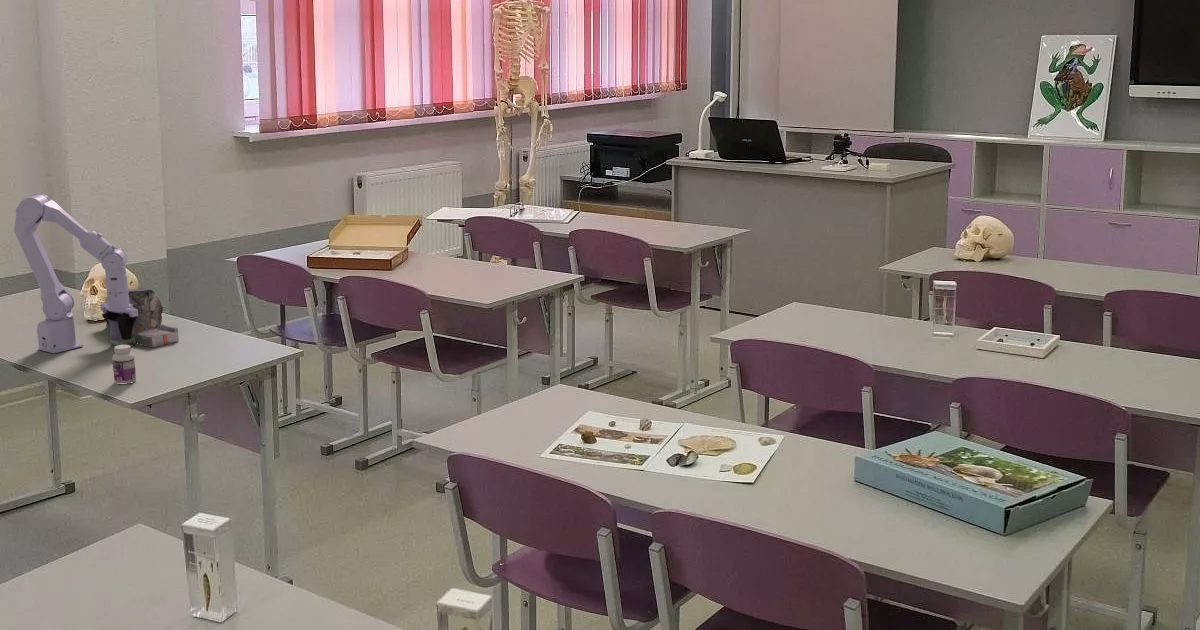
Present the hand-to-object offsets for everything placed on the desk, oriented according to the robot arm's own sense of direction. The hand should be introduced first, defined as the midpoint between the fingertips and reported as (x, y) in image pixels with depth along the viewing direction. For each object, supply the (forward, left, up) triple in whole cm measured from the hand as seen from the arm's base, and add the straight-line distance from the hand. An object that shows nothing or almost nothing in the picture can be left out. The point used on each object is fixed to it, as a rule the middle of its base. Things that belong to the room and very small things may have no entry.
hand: (121, 337), depth 349 cm
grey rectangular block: (0, 0, -2) cm, 2 cm away
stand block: (+8, -5, -2) cm, 10 cm away
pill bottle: (-22, -32, -3) cm, 39 cm away
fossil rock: (+14, +14, -3) cm, 20 cm away
